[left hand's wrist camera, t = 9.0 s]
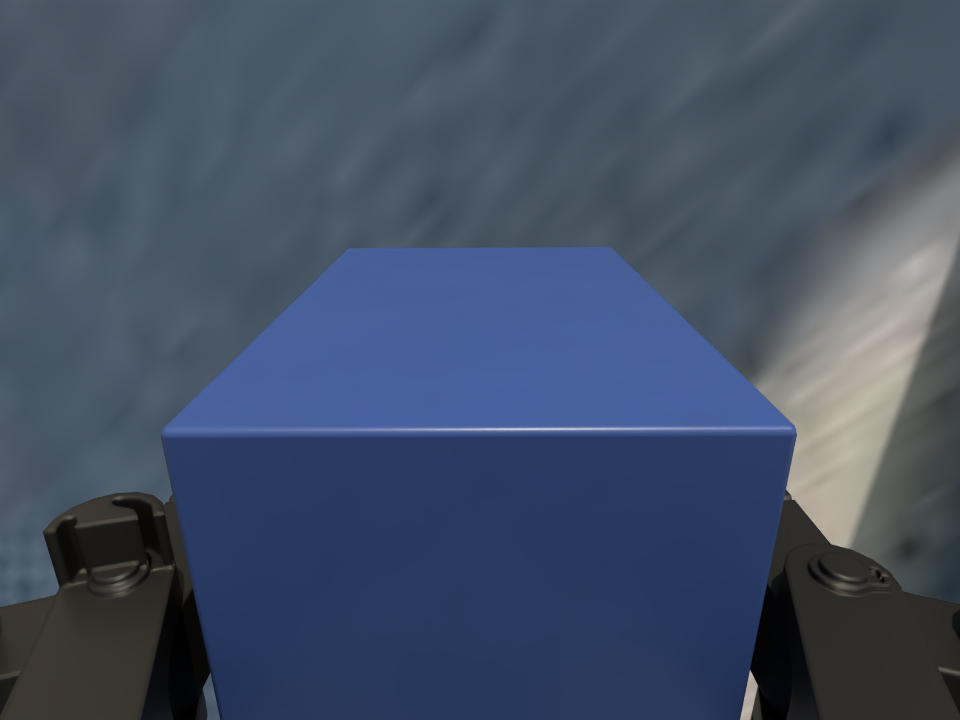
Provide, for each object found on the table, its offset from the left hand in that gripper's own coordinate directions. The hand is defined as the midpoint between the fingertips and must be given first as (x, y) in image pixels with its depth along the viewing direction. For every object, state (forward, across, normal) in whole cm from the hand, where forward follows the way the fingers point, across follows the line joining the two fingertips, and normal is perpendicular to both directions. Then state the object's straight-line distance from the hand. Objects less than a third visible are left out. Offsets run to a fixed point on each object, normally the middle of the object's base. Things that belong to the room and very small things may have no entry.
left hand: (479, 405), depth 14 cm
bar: (+1, 0, -8) cm, 8 cm away
